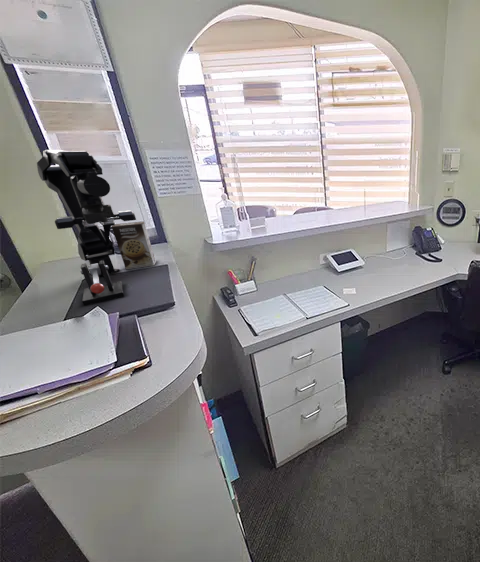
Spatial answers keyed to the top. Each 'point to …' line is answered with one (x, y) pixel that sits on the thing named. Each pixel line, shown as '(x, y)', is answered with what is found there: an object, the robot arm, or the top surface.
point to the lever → (95, 278)
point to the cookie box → (134, 244)
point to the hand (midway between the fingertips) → (107, 245)
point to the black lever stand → (109, 289)
